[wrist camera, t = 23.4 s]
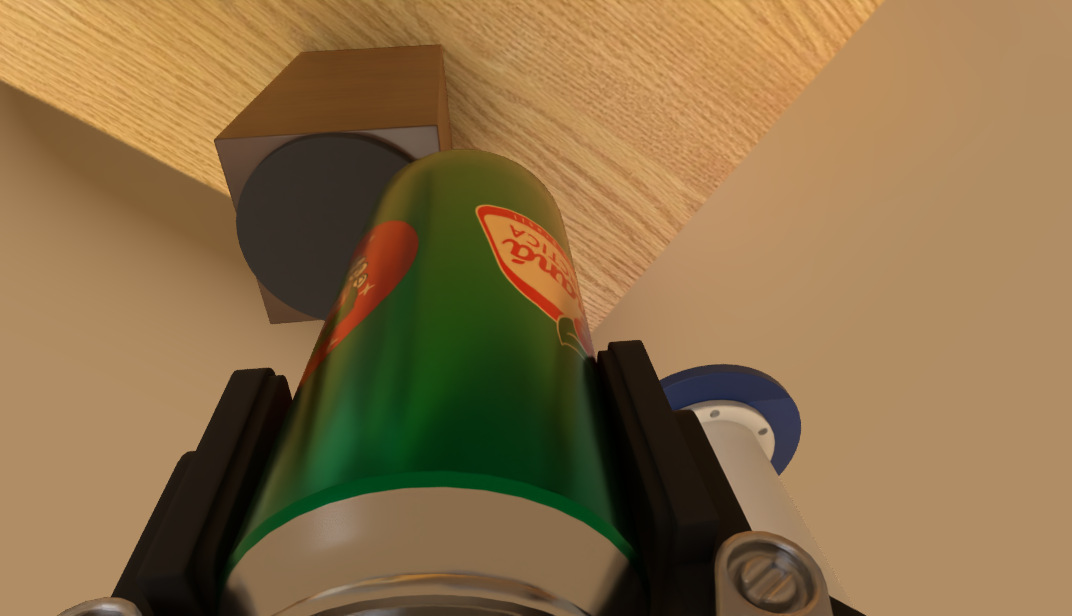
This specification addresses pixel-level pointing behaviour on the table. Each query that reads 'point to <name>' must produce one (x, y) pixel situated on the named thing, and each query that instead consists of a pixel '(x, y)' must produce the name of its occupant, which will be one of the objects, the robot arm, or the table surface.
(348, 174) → the coaster
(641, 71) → the table surface
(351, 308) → the soda can
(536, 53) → the table surface
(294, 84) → the pedestal
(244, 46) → the table surface
